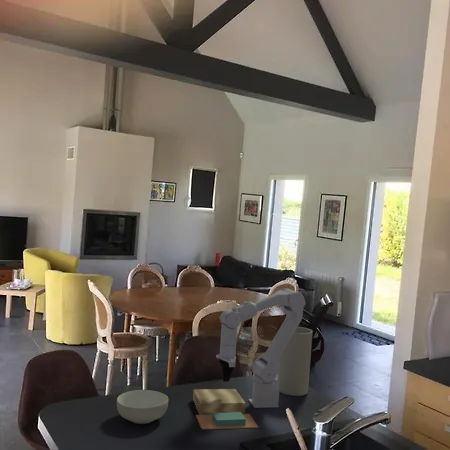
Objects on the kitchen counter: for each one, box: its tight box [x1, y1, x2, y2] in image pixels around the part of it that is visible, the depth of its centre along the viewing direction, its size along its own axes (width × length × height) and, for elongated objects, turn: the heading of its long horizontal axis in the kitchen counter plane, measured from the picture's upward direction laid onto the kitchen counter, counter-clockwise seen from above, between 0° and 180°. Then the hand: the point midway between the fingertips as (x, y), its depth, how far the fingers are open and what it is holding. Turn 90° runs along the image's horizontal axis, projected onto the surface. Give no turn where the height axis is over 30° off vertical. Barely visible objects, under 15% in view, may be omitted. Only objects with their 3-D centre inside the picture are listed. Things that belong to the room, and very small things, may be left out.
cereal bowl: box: [116, 389, 169, 425], centre depth 173 cm, size 17×17×7 cm
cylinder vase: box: [277, 326, 314, 397], centre depth 211 cm, size 12×12×25 cm
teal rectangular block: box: [212, 412, 246, 426], centre depth 175 cm, size 10×6×2 cm, turn 105°
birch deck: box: [192, 388, 246, 415], centre depth 188 cm, size 16×14×4 cm
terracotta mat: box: [195, 413, 259, 430], centre depth 176 cm, size 19×11×1 cm, turn 103°
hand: (225, 380), depth 189 cm, fingers closed
